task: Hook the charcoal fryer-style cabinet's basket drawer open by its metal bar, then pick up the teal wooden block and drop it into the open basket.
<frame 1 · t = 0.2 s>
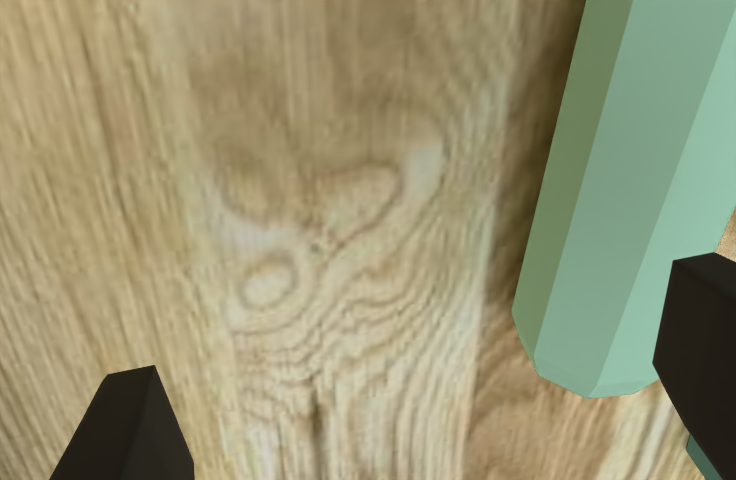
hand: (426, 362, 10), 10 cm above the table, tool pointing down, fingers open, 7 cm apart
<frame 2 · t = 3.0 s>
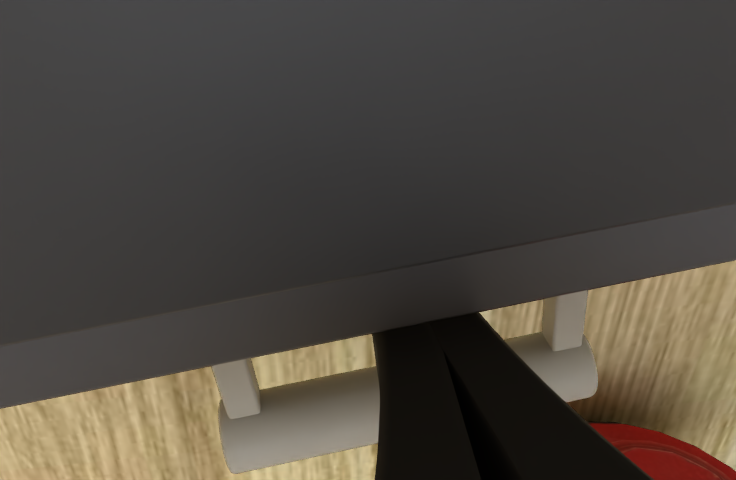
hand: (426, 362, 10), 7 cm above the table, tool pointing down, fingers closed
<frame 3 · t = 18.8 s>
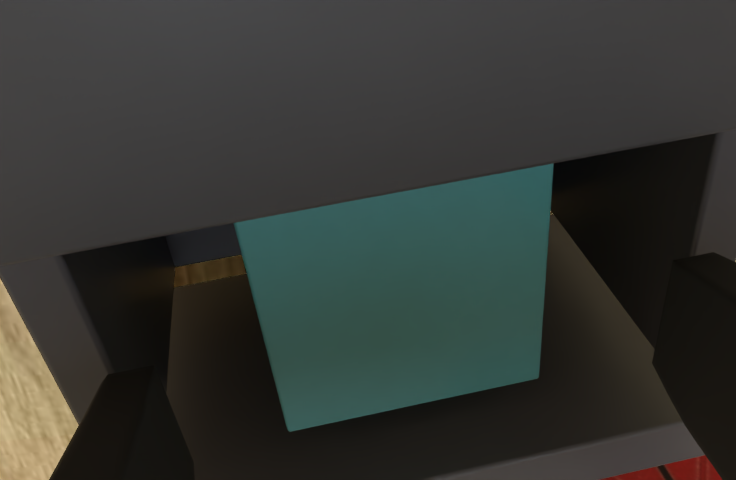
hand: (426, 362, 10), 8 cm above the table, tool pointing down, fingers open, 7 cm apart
block: (352, 154, 14), point 2 cm above the table, touching basket
basket: (377, 245, 13), point 4 cm above the table, slide at 6.4 cm, touching block
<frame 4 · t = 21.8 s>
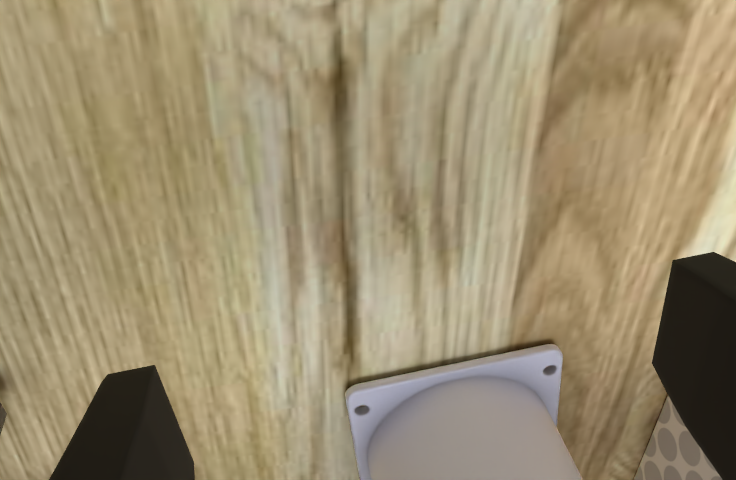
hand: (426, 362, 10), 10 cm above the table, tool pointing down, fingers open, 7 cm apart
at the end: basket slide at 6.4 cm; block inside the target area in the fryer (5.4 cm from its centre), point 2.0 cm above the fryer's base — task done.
